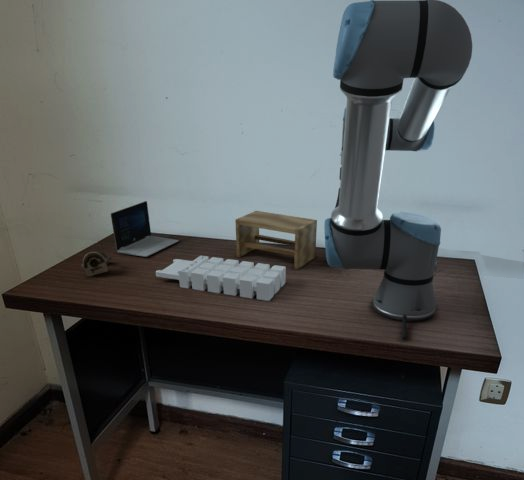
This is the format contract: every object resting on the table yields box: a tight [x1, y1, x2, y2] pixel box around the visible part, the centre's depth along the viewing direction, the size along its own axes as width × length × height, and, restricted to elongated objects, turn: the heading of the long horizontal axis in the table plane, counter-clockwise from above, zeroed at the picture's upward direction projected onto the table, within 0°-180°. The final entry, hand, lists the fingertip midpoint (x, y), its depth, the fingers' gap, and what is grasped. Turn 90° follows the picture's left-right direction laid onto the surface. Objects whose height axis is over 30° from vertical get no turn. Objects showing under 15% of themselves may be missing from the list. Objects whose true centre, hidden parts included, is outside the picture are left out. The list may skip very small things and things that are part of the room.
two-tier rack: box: [234, 210, 318, 270], centre depth 156 cm, size 12×22×12 cm, turn 58°
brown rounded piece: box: [80, 250, 113, 277], centre depth 149 cm, size 7×13×10 cm
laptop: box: [110, 200, 180, 258], centre depth 165 cm, size 18×12×13 cm
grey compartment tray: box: [155, 255, 287, 302], centre depth 140 cm, size 13×5×35 cm
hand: (347, 239), depth 152 cm, fingers open, 13 cm apart
